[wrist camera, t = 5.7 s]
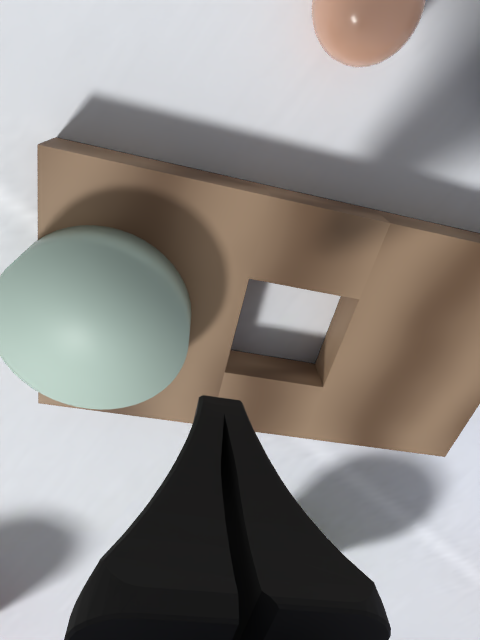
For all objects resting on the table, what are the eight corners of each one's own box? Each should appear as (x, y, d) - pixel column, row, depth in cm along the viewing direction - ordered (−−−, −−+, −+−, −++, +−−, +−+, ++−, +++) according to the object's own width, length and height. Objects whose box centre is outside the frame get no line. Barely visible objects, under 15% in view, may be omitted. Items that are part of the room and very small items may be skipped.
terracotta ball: (417, -36, 15) (471, -66, 11) (378, 78, 16) (416, 79, 13) (321, -68, 14) (350, -108, 11) (290, 54, 16) (309, 48, 13)
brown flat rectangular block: (540, 247, 20) (570, 263, 18) (429, 431, 26) (444, 456, 24) (56, 137, 17) (37, 144, 15) (52, 377, 22) (38, 403, 21)
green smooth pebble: (204, 243, 17) (203, 262, 15) (179, 390, 21) (176, 418, 19) (3, 208, 16) (-22, 224, 14) (14, 369, 20) (-5, 398, 18)
